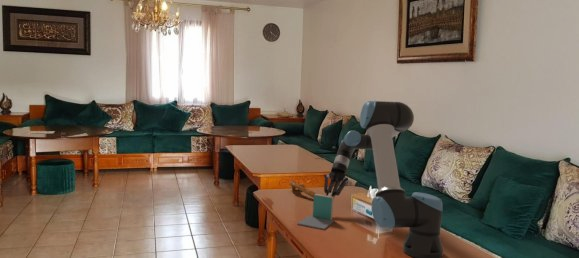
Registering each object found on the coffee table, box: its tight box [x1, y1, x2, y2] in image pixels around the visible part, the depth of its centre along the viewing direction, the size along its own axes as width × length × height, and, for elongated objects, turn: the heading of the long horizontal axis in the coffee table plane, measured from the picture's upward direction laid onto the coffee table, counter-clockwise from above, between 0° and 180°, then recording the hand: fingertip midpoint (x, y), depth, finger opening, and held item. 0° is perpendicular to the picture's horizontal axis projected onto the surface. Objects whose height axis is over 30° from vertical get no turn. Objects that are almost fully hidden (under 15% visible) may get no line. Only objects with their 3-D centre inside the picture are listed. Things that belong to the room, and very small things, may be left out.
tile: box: [312, 193, 335, 220], centre depth 221 cm, size 9×2×11 cm, turn 66°
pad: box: [297, 215, 335, 231], centre depth 214 cm, size 13×13×1 cm
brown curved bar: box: [289, 180, 317, 199], centre depth 260 cm, size 33×8×10 cm, turn 26°
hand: (327, 205), depth 226 cm, fingers closed
